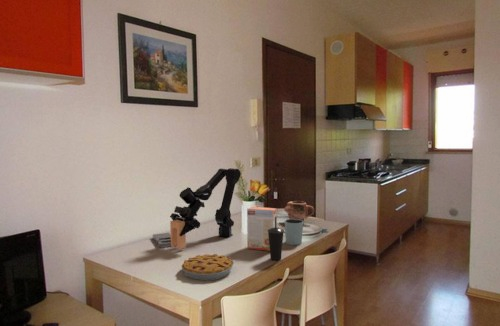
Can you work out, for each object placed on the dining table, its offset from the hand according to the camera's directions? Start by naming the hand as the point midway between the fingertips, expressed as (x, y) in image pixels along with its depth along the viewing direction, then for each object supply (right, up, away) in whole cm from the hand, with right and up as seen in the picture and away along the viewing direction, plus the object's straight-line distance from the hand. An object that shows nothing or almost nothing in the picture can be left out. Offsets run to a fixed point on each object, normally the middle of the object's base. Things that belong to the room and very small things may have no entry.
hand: (175, 234), depth 184 cm
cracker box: (+43, -8, +3) cm, 44 cm away
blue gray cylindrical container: (+61, -7, +12) cm, 62 cm away
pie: (+19, -11, -28) cm, 36 cm away
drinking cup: (+49, -9, -13) cm, 52 cm away
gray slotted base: (-9, -7, +15) cm, 19 cm away
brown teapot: (+69, -4, +56) cm, 89 cm away
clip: (+1, -6, +2) cm, 7 cm away
